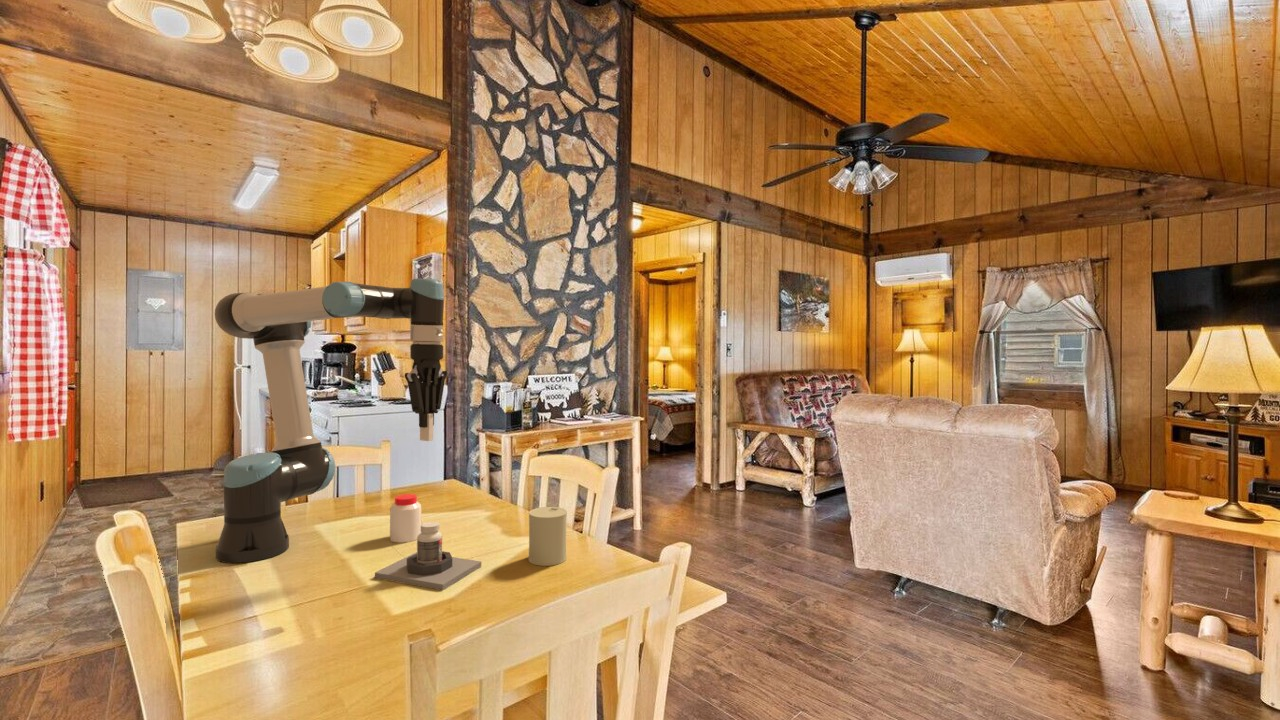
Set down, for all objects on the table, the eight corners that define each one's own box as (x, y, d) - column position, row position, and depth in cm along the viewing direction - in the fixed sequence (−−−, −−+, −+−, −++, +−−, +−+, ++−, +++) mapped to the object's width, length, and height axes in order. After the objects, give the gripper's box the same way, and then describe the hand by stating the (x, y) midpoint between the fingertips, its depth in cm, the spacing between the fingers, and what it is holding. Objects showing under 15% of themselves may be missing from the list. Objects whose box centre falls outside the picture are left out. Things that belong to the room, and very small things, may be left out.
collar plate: (374, 577, 132) (374, 563, 132) (417, 556, 145) (417, 543, 145) (443, 590, 126) (443, 575, 126) (481, 566, 139) (481, 553, 139)
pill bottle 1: (383, 540, 156) (383, 498, 156) (405, 531, 163) (405, 491, 163) (406, 544, 153) (406, 501, 153) (427, 535, 160) (427, 494, 160)
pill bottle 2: (444, 568, 135) (445, 525, 134) (420, 573, 132) (420, 529, 131) (438, 560, 139) (438, 519, 139) (414, 565, 136) (414, 522, 136)
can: (573, 555, 147) (574, 507, 147) (553, 568, 139) (553, 517, 138) (542, 549, 151) (542, 502, 150) (520, 561, 142) (520, 512, 142)
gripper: (421, 343, 137) (421, 445, 138) (456, 343, 149) (456, 437, 150) (395, 343, 139) (394, 443, 140) (432, 342, 152) (431, 435, 153)
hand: (426, 440), depth 145 cm, fingers closed
